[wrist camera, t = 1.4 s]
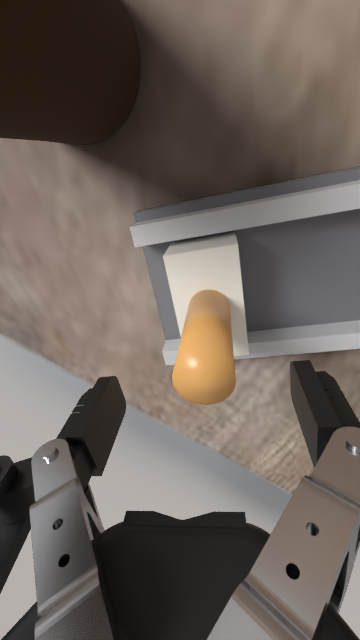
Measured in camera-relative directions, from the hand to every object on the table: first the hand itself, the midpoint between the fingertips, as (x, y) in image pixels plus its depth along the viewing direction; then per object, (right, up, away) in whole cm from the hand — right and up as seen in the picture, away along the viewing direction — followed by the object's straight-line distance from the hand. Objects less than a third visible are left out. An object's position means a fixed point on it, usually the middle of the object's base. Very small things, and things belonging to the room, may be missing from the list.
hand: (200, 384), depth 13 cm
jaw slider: (+2, +6, +11) cm, 12 cm away
